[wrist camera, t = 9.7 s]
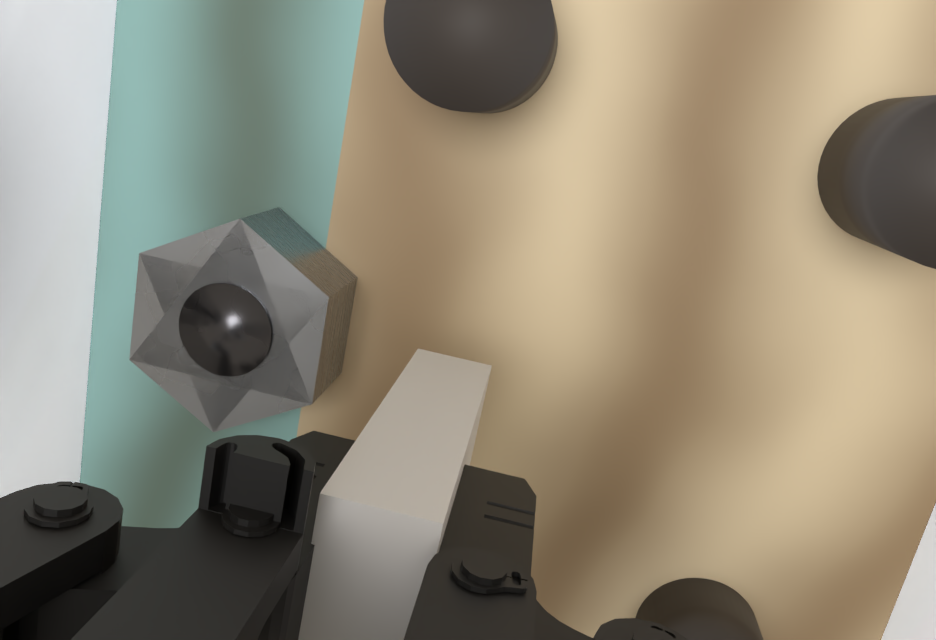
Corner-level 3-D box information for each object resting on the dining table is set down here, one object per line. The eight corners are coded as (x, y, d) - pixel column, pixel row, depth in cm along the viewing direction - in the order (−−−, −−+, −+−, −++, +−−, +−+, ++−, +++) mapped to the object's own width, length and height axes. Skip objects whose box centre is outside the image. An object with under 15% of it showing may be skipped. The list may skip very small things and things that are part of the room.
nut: (210, 410, 21) (164, 447, 19) (145, 253, 21) (87, 270, 18) (387, 359, 20) (362, 391, 18) (326, 191, 20) (290, 200, 17)
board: (82, 681, 26) (-19, 796, 21) (154, -182, 19) (29, -271, 15) (770, 874, 24) (812, 1041, 19) (1114, -3, 17) (1294, -44, 13)
